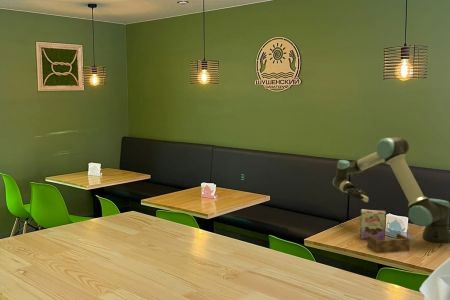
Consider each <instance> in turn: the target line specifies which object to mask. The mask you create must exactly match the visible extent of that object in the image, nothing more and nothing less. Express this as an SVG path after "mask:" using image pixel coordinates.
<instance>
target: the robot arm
mask: <svg viewBox="0 0 450 300" xmlns="http://www.w3.org/2000/svg"><path fill="white" fill-rule="evenodd" d="M409 151H410V144H409V142H408V140H407V139H405V138H403V137H400V136H396V137H386V138H382V139H380V140H378V142H377V144H376V149H375V152H373V153H371V154H368V155H366V156H363V157H362V158H360V159H357V160H355V161H352V162H350V161H349V160H345V159H339V160H338V161H337V164H336V173H335V174H336V175H335V177H333V180H332V185H333V186H334V187H335V188H336V189H337V190H340V191H341V192H343V194H345V195H348V196H351V197H353V198H354V199H357V200H361V201H363V202H365V203H369V197H368V196H367V193H365V191H364V189H360V190H359V188H357V187H356V185H355V184H353V183H351V182H350V181H348V178H349V175H352V174H360V173H362V172H364V171H365V170H367V169H370V168H371V167H373V166H376V165H378V164H381V163H383V162H385V163H386V165H389V166H390V167H391V169H392V171H393V173H394V175H395V177H396V179H397V181H398V183H399V185H400V187H401V189H402V191H403V193H404V195H405V197H406V199H407V201H408V205H407V207H408V209H409V210H408V218H409V220H410V222H411V223H413V224H414V225H415V226H418V227H424V230H423V232H422V235H421V237H422V239H423V240H425V241H428V242H433V243H440V244H445V243H450V228H449V223H450V222H449V221H450V202H449V201H448V200H444V199H439V198H429V197H427V196H424V193H423V192H422V190H421V187H420V186H419V184H418V181H417V180H416V178H415V177H414V175H413V173H412V171H411V169H410V167H409V166H408V164H407V161H406V159H405V158H406V154H407V153H408V152H409Z"/></svg>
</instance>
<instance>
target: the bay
mask: <svg viewBox="0 0 450 300" xmlns="http://www.w3.org/2000/svg"><path fill="white" fill-rule="evenodd" d="M366 240H367V241H366V242H367V243H366V247H368V248H369V249H371V250H372V249H373V250H372V251H374V252H375V253H386V252H385V251H389V252H398V251H409V250H410V245H411V244H410V240H411V239H410V238H409V237H407V236H405V235H402V234H401V233H399V232H398V233H396V237H395V238H392V239H385V240H377V239H375V238H374V237H372V236H370V235H368V238H367V239H366Z"/></svg>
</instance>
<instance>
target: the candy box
mask: <svg viewBox="0 0 450 300" xmlns="http://www.w3.org/2000/svg"><path fill="white" fill-rule="evenodd" d="M386 215H387V212H386V210H378V209H377V210H376V209H375V210H374V209H363V208H361V210H360V220H359V239H361V240H367V238H368V235H370V236H372V237H374V238H375V239H377V240H386V239H385V238H386V217H387V216H386Z"/></svg>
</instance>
